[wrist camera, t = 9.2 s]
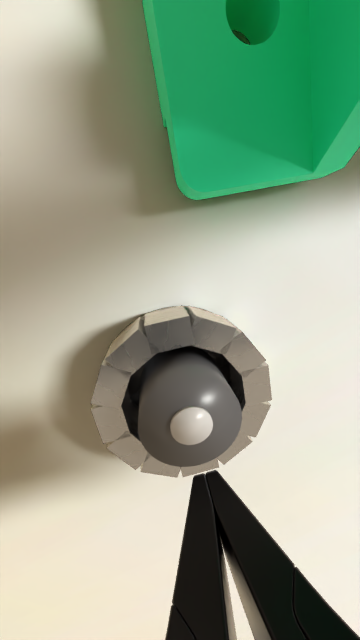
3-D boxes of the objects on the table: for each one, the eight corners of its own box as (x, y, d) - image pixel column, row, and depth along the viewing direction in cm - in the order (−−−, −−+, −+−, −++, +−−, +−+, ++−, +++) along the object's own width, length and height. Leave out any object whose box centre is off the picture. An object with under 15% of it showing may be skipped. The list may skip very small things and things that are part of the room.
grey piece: (239, 290, 15) (261, 299, 12) (256, 419, 17) (277, 451, 14) (83, 326, 14) (67, 343, 11) (125, 454, 17) (121, 494, 14)
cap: (212, 336, 15) (236, 366, 11) (224, 404, 16) (249, 454, 12) (131, 355, 14) (124, 394, 10) (151, 423, 16) (151, 481, 12)
